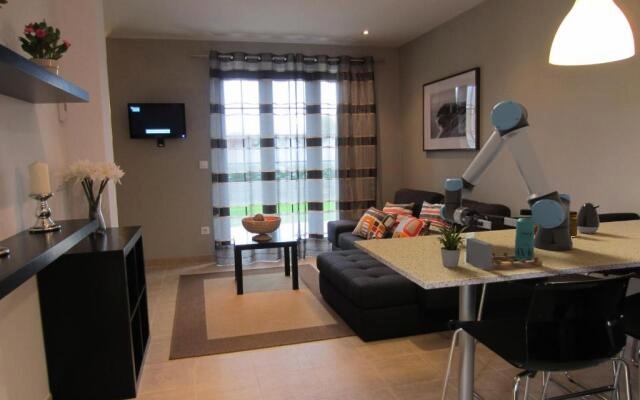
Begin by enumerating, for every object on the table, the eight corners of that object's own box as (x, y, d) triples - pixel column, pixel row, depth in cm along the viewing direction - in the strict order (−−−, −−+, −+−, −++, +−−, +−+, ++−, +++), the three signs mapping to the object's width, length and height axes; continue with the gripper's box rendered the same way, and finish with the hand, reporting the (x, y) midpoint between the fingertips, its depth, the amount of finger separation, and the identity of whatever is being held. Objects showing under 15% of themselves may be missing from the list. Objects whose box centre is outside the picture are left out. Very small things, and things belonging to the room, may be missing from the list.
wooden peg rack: (520, 258, 171) (521, 250, 170) (542, 266, 159) (542, 258, 159) (473, 261, 167) (473, 253, 167) (491, 269, 155) (491, 261, 155)
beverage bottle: (510, 261, 167) (512, 208, 165) (527, 260, 168) (529, 207, 166) (519, 265, 161) (521, 210, 159) (537, 264, 161) (539, 210, 159)
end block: (473, 261, 167) (473, 238, 166) (491, 269, 155) (492, 244, 154) (465, 262, 166) (466, 238, 165) (483, 270, 155) (484, 244, 154)
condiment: (580, 236, 214) (582, 211, 213) (571, 238, 210) (572, 213, 208) (565, 234, 220) (566, 210, 219) (556, 236, 216) (557, 211, 214)
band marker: (491, 256, 168) (491, 254, 168) (511, 264, 156) (511, 262, 156) (484, 257, 168) (484, 255, 168) (503, 264, 156) (503, 263, 156)
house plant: (421, 267, 160) (421, 222, 158) (433, 259, 172) (433, 217, 170) (461, 272, 152) (462, 225, 151) (471, 263, 164) (472, 219, 162)
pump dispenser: (591, 235, 216) (593, 204, 214) (570, 232, 225) (572, 202, 223) (603, 233, 221) (605, 203, 219) (583, 230, 230) (584, 201, 228)
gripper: (489, 223, 197) (527, 231, 177) (442, 226, 188) (477, 236, 168) (490, 206, 196) (528, 213, 176) (443, 209, 187) (478, 216, 167)
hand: (504, 224), depth 172 cm, fingers open, 13 cm apart
